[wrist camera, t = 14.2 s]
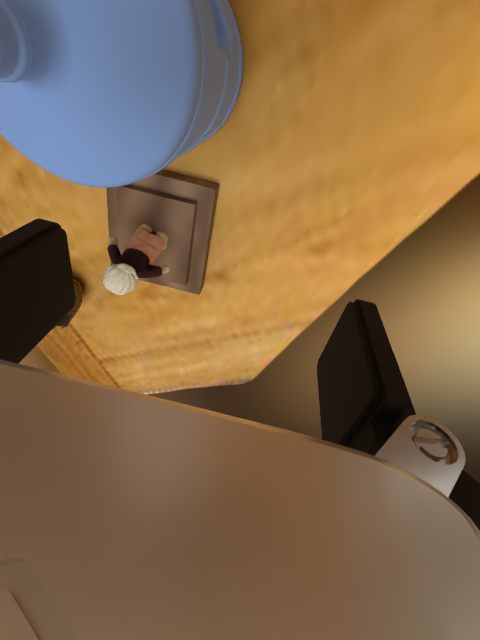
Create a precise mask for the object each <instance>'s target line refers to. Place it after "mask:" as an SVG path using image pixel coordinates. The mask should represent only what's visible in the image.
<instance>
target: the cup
mask: <svg viewBox="0 0 480 640" xmlns="http://www.w3.org/2000/svg"><path fill="white" fill-rule="evenodd" d="M73 283H74V290H75V297H76V301H75V304H74V306H73V308H72V309H71V310H70V311H69V312H68V313H67V314H66V315H65V316H64V317H63V318H62V319H61V320H60V321H59V322H58V323H57V324H56V325H55V326H54V328H55V327H56V326H62V328H64V327H67V326H68V324H69V322H70V321H71V320H72V318H73V317H74V315H75V314H76V312H77V311H78V309H79V308H80V306H81V303H82V289H83V287H82V284H81V283H80V281H79V280H77V279H76V278H74V277H73ZM54 328H53V329H54ZM62 328H61V329H62Z"/></svg>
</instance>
